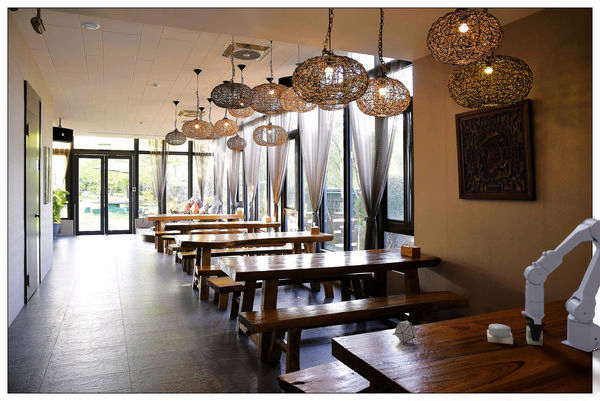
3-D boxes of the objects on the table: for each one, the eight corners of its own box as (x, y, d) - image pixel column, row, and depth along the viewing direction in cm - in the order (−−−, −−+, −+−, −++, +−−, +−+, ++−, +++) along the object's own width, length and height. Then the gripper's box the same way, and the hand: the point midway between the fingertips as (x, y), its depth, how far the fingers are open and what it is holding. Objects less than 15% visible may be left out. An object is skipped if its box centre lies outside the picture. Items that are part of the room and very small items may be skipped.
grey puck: (509, 331, 164) (509, 325, 164) (511, 338, 157) (511, 331, 157) (487, 329, 166) (488, 323, 166) (489, 336, 159) (489, 329, 159)
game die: (401, 353, 159) (384, 332, 158) (406, 338, 166) (390, 317, 165) (421, 346, 154) (404, 324, 153) (426, 330, 160) (409, 309, 160)
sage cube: (540, 340, 159) (540, 327, 159) (542, 345, 155) (542, 331, 154) (526, 339, 160) (526, 325, 160) (528, 344, 156) (528, 329, 156)
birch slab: (510, 338, 164) (510, 331, 164) (513, 346, 156) (513, 339, 156) (486, 336, 166) (486, 329, 166) (488, 343, 159) (488, 336, 159)
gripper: (519, 294, 165) (519, 330, 166) (524, 304, 151) (524, 344, 152) (540, 295, 163) (540, 332, 163) (548, 306, 149) (547, 346, 150)
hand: (534, 338), depth 157 cm, fingers closed on sage cube, 4 cm apart
